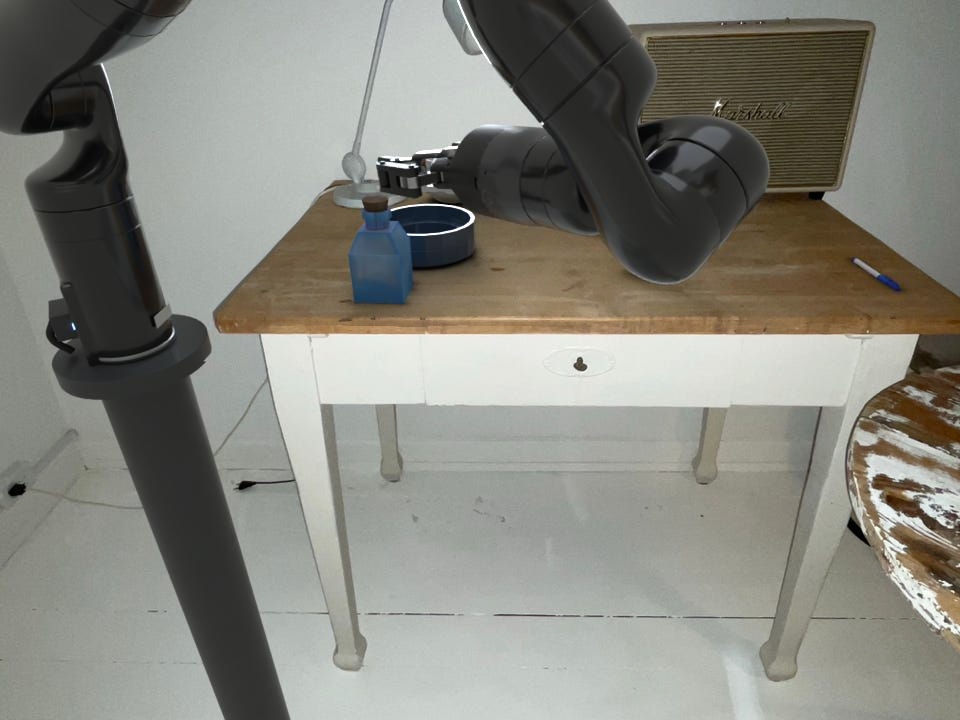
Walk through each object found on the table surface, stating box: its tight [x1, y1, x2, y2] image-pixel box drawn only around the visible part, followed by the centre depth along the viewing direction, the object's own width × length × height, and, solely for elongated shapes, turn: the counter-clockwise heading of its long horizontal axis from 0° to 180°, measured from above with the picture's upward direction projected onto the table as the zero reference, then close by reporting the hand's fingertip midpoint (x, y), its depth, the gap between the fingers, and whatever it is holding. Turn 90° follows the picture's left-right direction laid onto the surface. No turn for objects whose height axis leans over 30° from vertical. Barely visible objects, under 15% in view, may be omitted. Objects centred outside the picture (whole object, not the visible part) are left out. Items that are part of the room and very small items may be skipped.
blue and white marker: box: [851, 256, 901, 292], centre depth 82 cm, size 10×1×1 cm, turn 3°
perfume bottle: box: [347, 194, 414, 305], centre depth 77 cm, size 6×6×12 cm
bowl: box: [389, 203, 477, 268], centre depth 91 cm, size 14×14×5 cm
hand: (419, 160), depth 64 cm, fingers open, 8 cm apart
